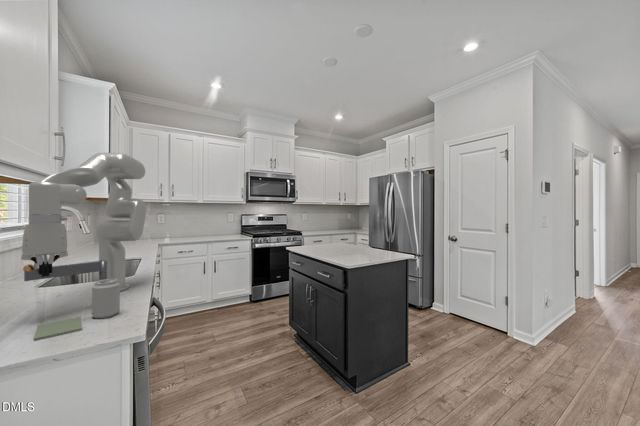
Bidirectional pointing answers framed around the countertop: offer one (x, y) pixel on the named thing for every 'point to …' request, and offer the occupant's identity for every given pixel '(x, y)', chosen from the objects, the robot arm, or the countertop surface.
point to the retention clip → (67, 270)
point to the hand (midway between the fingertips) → (45, 275)
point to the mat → (58, 328)
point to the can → (105, 298)
